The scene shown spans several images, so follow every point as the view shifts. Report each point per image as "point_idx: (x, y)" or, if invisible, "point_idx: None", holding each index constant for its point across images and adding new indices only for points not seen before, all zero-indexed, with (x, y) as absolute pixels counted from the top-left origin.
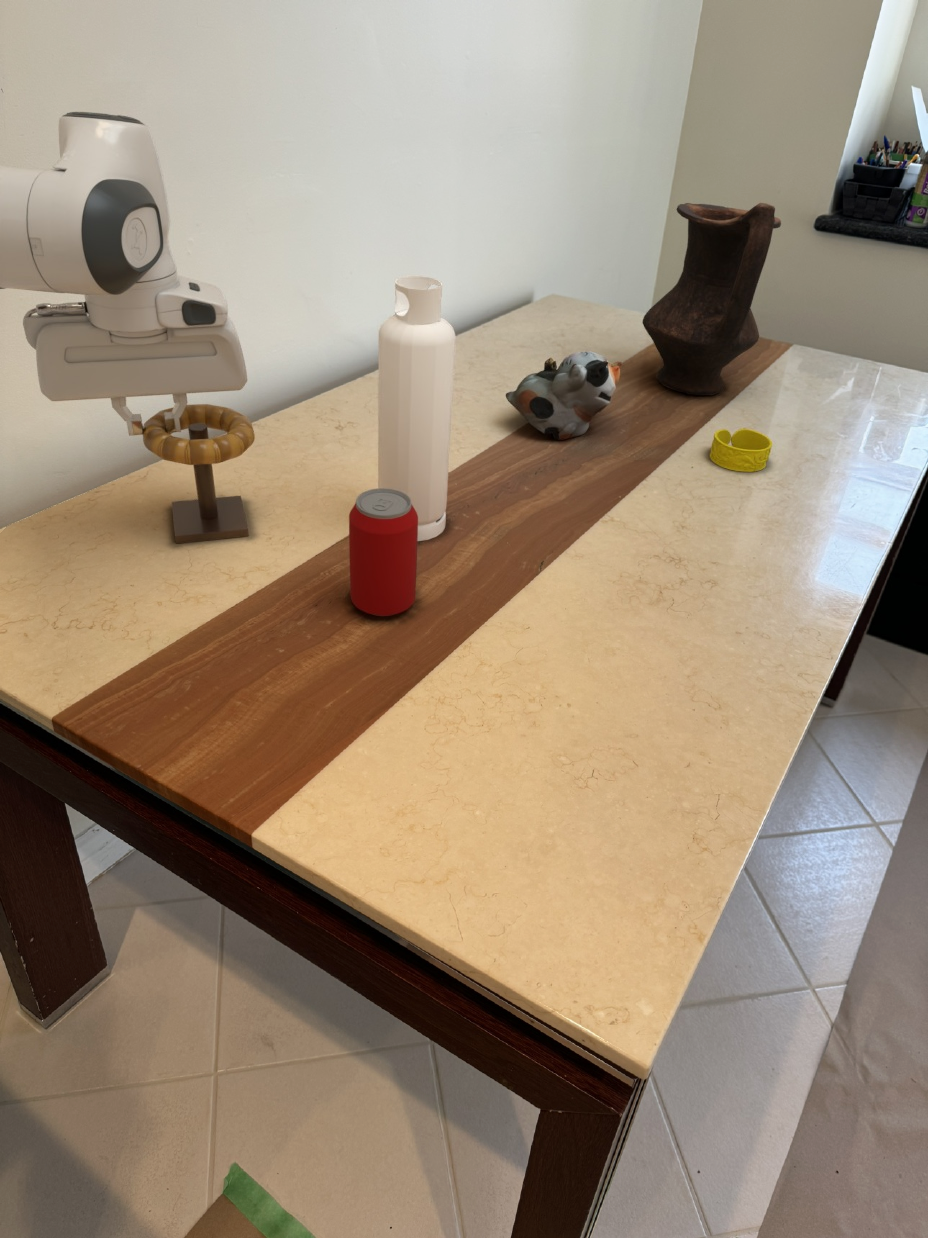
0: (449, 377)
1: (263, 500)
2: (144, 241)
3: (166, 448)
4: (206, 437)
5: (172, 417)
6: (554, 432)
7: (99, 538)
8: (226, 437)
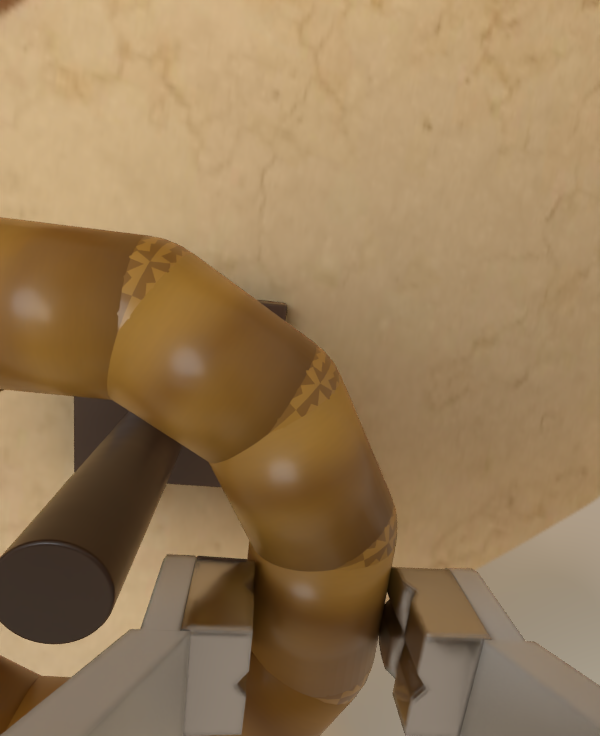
0: None
1: (19, 464)
2: None
3: (290, 338)
4: (32, 521)
5: (191, 643)
6: None
7: (459, 387)
8: None
